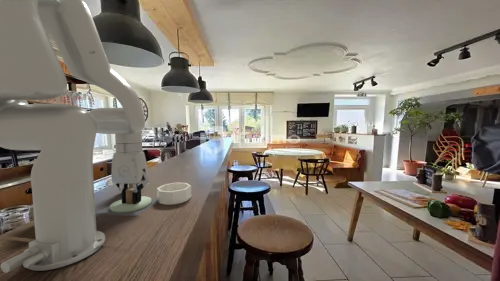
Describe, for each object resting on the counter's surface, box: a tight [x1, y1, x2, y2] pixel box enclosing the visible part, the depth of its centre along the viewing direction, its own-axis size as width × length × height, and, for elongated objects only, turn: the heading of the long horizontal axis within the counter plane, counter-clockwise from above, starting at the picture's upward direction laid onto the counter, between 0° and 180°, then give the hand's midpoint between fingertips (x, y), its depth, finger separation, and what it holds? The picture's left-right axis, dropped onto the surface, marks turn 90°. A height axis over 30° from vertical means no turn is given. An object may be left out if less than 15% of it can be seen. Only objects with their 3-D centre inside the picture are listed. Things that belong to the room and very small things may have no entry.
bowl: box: [156, 182, 192, 206], centre depth 72 cm, size 11×11×5 cm
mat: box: [95, 197, 159, 217], centre depth 66 cm, size 14×14×1 cm
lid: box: [109, 188, 152, 213], centre depth 66 cm, size 12×12×5 cm
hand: (131, 201), depth 66 cm, fingers closed on lid, 3 cm apart
